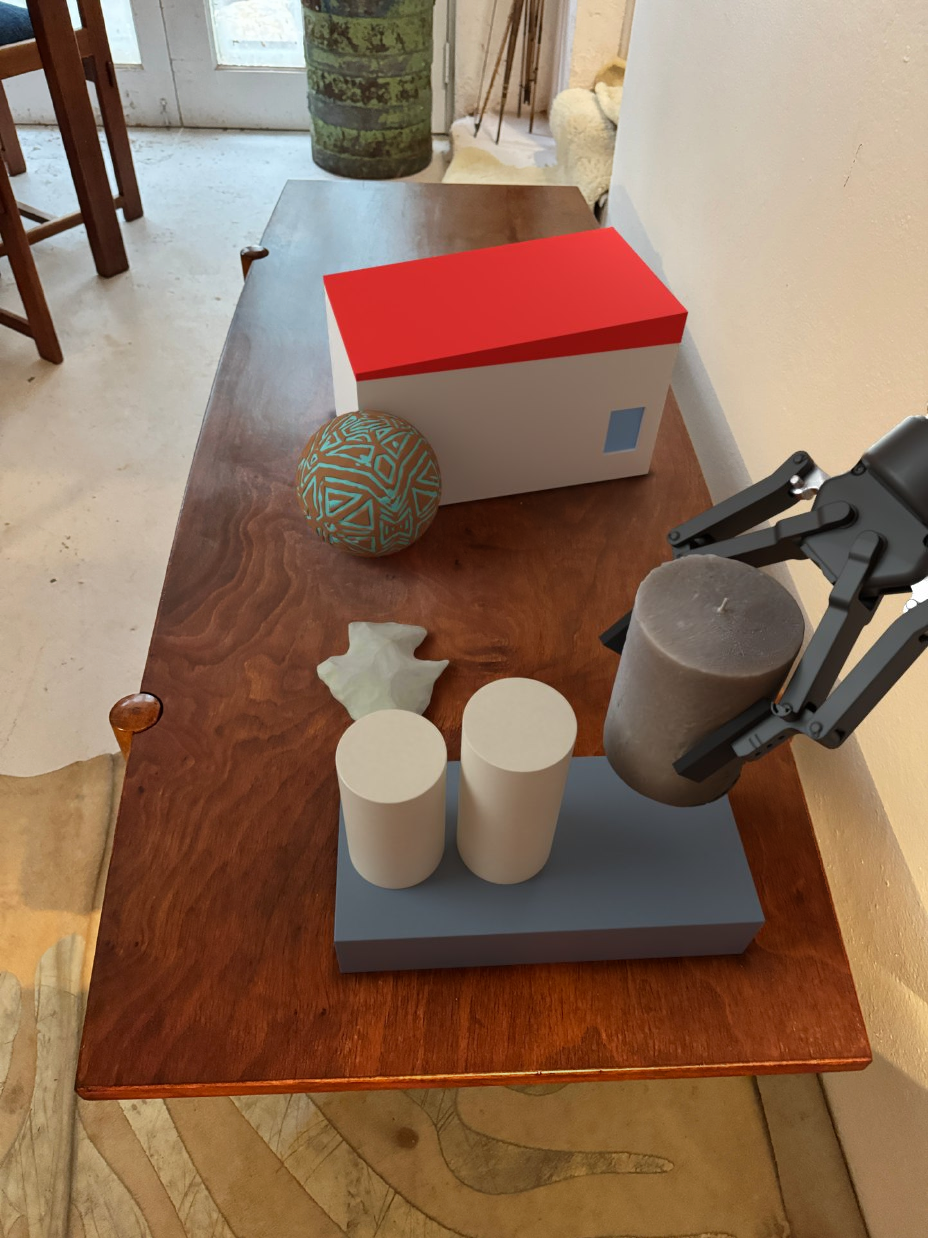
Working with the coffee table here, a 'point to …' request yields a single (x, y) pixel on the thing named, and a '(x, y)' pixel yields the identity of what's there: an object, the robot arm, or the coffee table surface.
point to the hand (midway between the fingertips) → (646, 706)
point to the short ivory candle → (393, 796)
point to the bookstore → (512, 359)
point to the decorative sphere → (368, 483)
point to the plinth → (564, 889)
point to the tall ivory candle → (512, 777)
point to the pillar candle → (696, 670)
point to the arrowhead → (381, 670)
